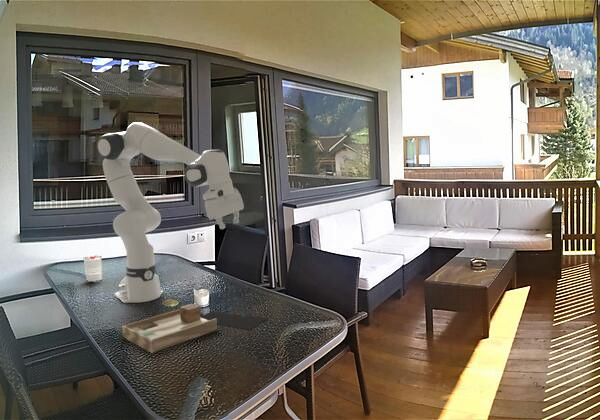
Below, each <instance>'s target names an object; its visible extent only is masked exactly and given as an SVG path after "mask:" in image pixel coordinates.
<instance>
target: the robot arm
mask: <svg viewBox="0 0 600 420" xmlns="http://www.w3.org/2000/svg"><path fill="white" fill-rule="evenodd" d="M96 150H97V153H98V154H99V156H100V157H101V158H103V159H104V160H103V161H102V169H103V173H104V177H105V180H106V183H107V185H108V188H109V190H110V193H111V195H112V198H113V200H114V202H116V203H117V204H118V205H120V206H121V207H122V208H123V209H124V210H125V211H123V212H122V213H119V214H118V215H116V217H115V218H114V219H113V221H112V228H113V230H114V233H115V234H116V235H117V236H119V237H120V239H121V240H122V243H123V245H124V248H125V252H126V262H127V266H126V267H125V268H126V269H125V277H123V279H122V280H120V282H119V285H117V287H118V288H117V289H118V290H119V291H116V292H115V293H114V297H116V298H117V299H118V298H119V299H120V300H121V301H122V302H123V304H128V303H129V304H130V303H146V302H150V301H155V300H157V299H159V298H160V297H161V295H162V294H164V290H163V289H161V282H160V276H159V275H158V274H156V273H157V267H156V263H155V251H154V247H153V245H152V244H151V243H149V240H148V238H147V233H149V232H152V231H154V230H155V229H156V228H158V227H159V226H160V224H161V222H162V216H161V213H160V212H159V210H158V209H156V208H155V207H153V205H151V204H150V202H149V201H148V200H147V199H146V198H145V196H144V195H143V193H142V192H141V190H140V188H139V185H138V182H137V180H136V178H135V176H134V173H133V171H132V169H131V165H130V164H131V161H134V162H135V161H136V160H138V158H139V157H141V156H142V155H144V156H146V157H148V158H150V159H152V160H155V161H166V162H168V161H171V162H172V161H174V162H179V163H183V164H184V165H186V167H185V168H184V172H183V176H184V179H185V182H186V183H187V184H188V185H189V186H191V187H194V188H196V187H197V188H198V187H203V186H208V187H209V188H208V190H206V191H205V192H204V193H203V194H202V198H203V200H204V209H205V214H206V217H207V219H209V220H215V222H216V223H217V224H218V226H219V229H220V230H224V229H226V223H224V221H223V217H225V216H228V215H233V219H232V222H233V224H239V223H240V219H239V218H240V211H242V210H244V208H245V205H244V201H243V198H242V195H241V193H240V191H239V190H238V188H236V187H234V185H233V181H232V178H231V176H230V167H229V163H228V159H227V156H226V154H225V152H224V151H223V150H222V149H207V150H204V151H203V152H202V154H201V153H199V152H197V151H195V150H193V149H191V148H189V147H187V146H185V145H183V144H181V143H180V142H177V141H176V140H174V139H172V138H170V137H168V136H167V135H165V134H164V133H162V132H160V131H159V130H157V129H156V128H153V127H152V126H149V125H148V124H145V123H143V122H136V121H135V122H132V123H131V124H130V125H128V127H127V128H126V131H119V132H112V133H111V132H110V133H106V134H104V135H101V136H100V137H99V138H98V140H97V142H96ZM119 299H118V300H119ZM120 300H119V301H120ZM121 301H120V302H121ZM122 302H121V303H122Z"/></svg>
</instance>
